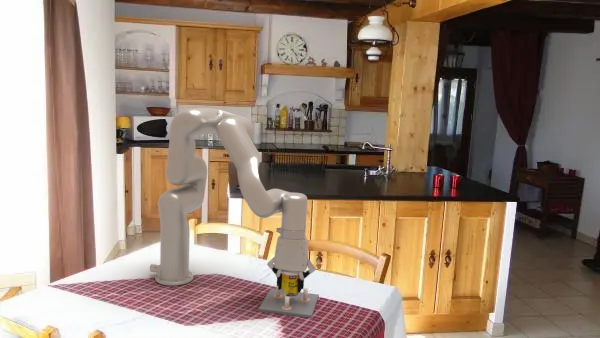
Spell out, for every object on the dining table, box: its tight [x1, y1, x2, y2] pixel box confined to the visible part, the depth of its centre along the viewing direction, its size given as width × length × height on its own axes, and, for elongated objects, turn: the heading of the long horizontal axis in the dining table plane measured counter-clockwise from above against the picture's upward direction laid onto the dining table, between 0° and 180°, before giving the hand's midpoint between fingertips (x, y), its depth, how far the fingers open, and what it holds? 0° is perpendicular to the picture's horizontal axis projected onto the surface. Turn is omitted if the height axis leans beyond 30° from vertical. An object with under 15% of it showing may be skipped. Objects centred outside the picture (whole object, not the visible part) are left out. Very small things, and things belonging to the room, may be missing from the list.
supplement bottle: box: [281, 270, 300, 298], centre depth 154 cm, size 6×6×10 cm
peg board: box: [258, 285, 320, 319], centre depth 155 cm, size 16×16×4 cm
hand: (289, 288), depth 155 cm, fingers closed on supplement bottle, 5 cm apart
